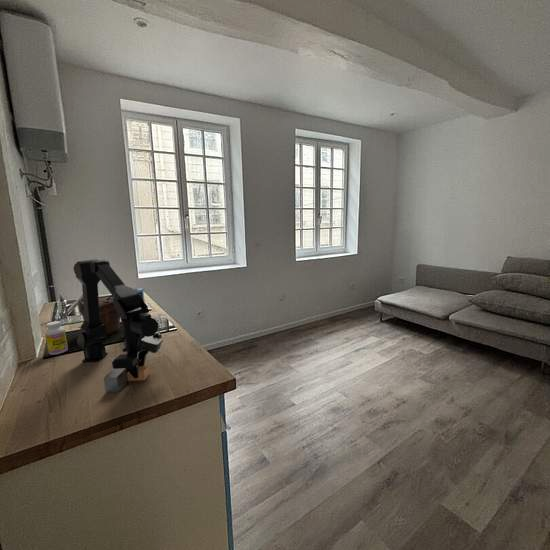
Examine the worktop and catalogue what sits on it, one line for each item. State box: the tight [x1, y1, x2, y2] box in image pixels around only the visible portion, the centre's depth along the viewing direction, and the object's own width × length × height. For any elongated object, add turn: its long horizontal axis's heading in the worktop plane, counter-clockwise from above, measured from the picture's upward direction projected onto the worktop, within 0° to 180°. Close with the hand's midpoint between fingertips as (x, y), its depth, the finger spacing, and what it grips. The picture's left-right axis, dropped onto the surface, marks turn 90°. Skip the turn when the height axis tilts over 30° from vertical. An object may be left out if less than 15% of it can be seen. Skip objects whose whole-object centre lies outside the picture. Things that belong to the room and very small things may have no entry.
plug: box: [126, 365, 150, 382], centre depth 96 cm, size 10×4×3 cm, turn 93°
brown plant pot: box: [78, 295, 121, 335], centre depth 142 cm, size 18×20×18 cm
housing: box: [103, 368, 128, 393], centre depth 96 cm, size 4×16×5 cm, turn 2°
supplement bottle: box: [44, 320, 69, 356], centre depth 119 cm, size 7×7×13 cm
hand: (139, 374), depth 96 cm, fingers closed on plug, 4 cm apart
